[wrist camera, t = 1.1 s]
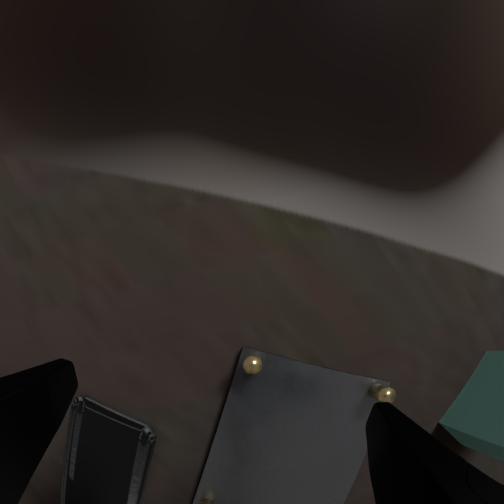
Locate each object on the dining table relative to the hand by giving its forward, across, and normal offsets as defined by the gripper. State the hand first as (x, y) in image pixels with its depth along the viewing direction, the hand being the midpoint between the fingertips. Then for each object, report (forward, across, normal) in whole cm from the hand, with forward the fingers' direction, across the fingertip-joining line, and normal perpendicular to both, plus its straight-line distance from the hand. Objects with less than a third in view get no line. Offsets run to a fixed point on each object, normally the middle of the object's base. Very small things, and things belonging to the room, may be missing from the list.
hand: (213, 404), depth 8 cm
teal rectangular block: (+12, -22, +10) cm, 27 cm away
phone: (+8, +11, +19) cm, 23 cm away
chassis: (+10, -4, +14) cm, 17 cm away
